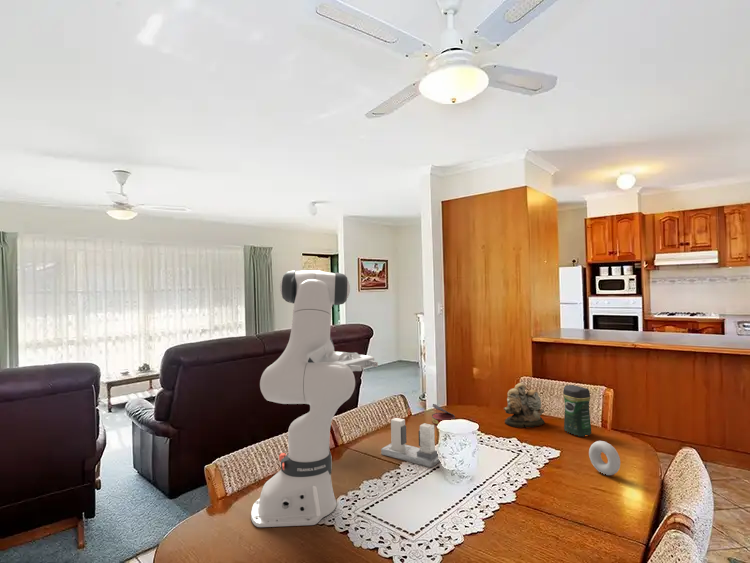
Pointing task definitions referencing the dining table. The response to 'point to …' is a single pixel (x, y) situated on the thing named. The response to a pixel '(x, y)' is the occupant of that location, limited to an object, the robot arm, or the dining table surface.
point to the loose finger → (398, 434)
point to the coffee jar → (577, 410)
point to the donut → (611, 455)
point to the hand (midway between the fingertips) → (369, 366)
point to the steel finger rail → (418, 449)
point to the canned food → (441, 415)
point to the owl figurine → (523, 407)
